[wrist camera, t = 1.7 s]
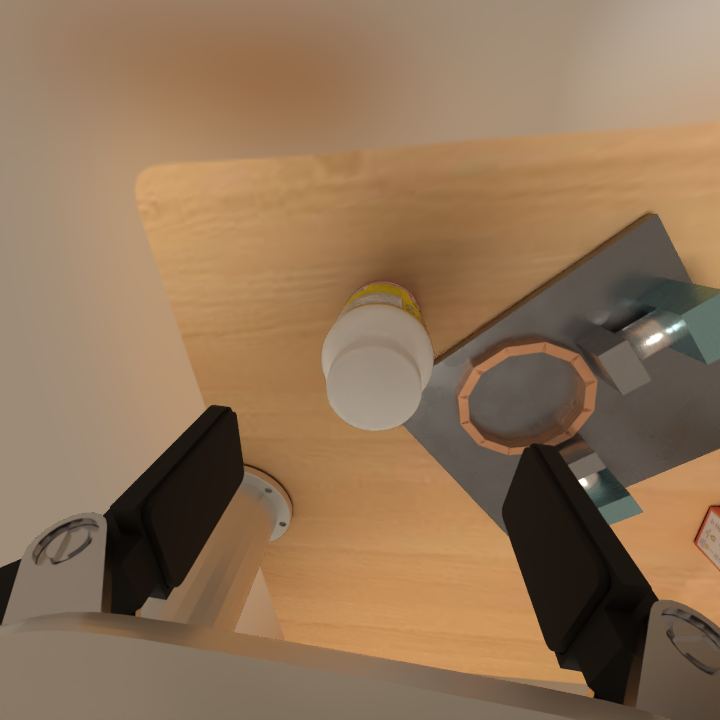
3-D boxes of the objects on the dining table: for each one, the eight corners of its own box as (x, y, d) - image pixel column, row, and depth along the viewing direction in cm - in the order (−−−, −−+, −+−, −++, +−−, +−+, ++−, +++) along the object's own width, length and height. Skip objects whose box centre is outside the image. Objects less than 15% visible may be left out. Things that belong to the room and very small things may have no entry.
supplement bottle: (417, 356, 27) (434, 454, 16) (344, 352, 28) (308, 443, 16) (425, 280, 25) (453, 331, 13) (344, 277, 25) (301, 323, 14)
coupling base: (505, 528, 35) (521, 573, 30) (382, 396, 30) (379, 428, 25) (753, 422, 27) (827, 462, 22) (645, 214, 21) (713, 211, 17)
